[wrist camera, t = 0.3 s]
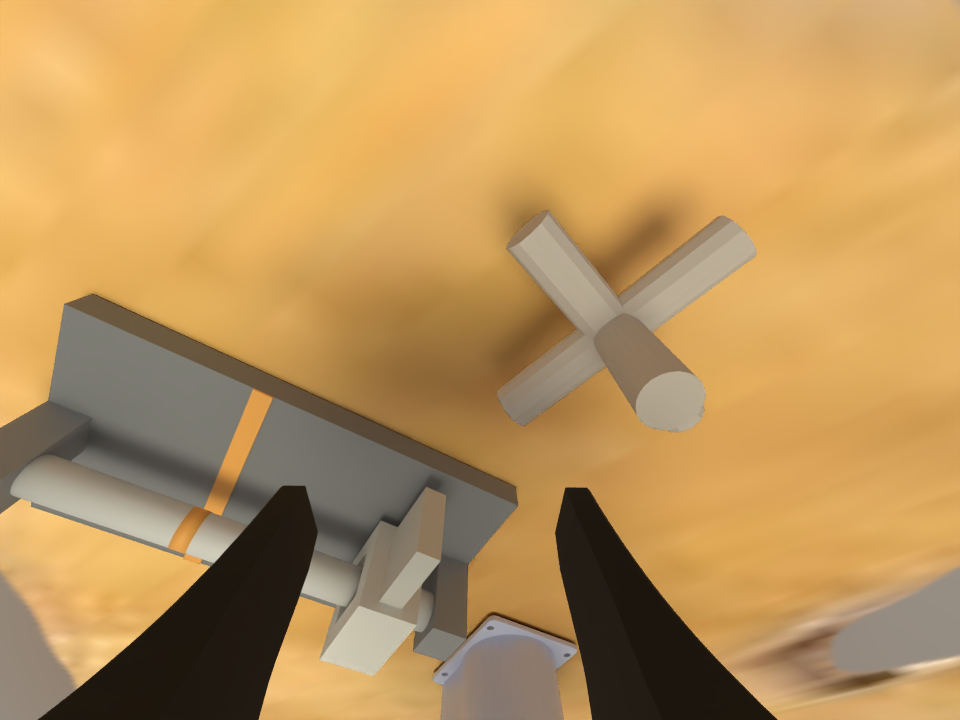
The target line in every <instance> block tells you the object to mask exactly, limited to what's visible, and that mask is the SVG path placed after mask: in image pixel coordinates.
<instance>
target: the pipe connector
mask: <svg viewBox="0 0 960 720" xmlns="http://www.w3.org/2000/svg"><path fill="white" fill-rule="evenodd" d="M506 249H507V250H508V251H509V252H510V253H511V254H512V256H513V257H514V258H515V259H516V260H517V261H518V262H519V264H520V265H521V266H522V267H523V268H524V269H525V270H526V272H527V273H528V274H529V275H530V276H531V277H532V278H533V280H534V281H535V282H536V283H537V284H538V285H539V286H540V288H541V289H542V290H543V291H544V292H545V293H546V294H547V296H548V297H549V298H550V299H551V300H552V301H553V302H554V304H555V305H556V306H557V307H558V308H559V309H560V310H561V312H562V313H563V314H564V315H565V316H566V317H567V318H568V320H569V321H570V322H571V323H572V324H573V325H574V326H575V328H576V329H574V330H573V331H572V332H571V333H569V334H568V335H567V336H565V337H564V338H563V339H562V340H560V341H559V342H558V343H557V344H555V345H554V346H553V347H551V348H550V349H549V350H548V351H546V352H545V353H544V354H543V355H541V356H540V357H539V358H537V359H536V360H535V361H534V362H532V363H531V364H530V365H529V366H527V367H526V368H525V369H523V370H522V371H521V372H520V373H518V374H517V375H516V376H515V377H513V378H512V379H511V380H509V381H508V382H507V383H506V384H504V385H503V386H502V387H501V388H499V389H498V391H497V393H496V394H497V397H498V400H499V402H500V404H501V405H502V407H503V409H504V410H505V412H506V413H507V414H508V415H509V416H510V417H511V418H512V420H513V421H515V422H516V423H518V424H519V425H520V426H525V425H526V424H528V423H529V422H531V421H532V420H533V419H535V418H536V417H537V416H539V415H540V414H541V413H543V412H544V411H546V410H547V409H548V408H550V407H551V406H552V405H554V404H555V403H556V402H558V401H559V400H561V399H562V398H563V397H565V396H566V395H567V394H569V393H570V392H571V391H573V390H574V389H576V388H577V387H578V386H580V385H581V384H582V383H584V382H585V381H586V380H588V379H589V378H590V377H592V376H593V375H595V374H596V373H597V372H599V371H600V370H601V369H603V368H604V367H605V366H607V368H608V370H609V371H610V373H611V374H612V376H613V378H614V379H615V381H616V382H617V384H618V386H619V387H620V389H621V390H622V392H623V394H624V395H625V397H626V398H627V400H628V402H629V403H630V405H631V406H632V408H633V410H634V411H635V413H636V414H637V416H638V417H639V419H640V421H641V422H642V423H644V424H645V425H646V426H648V427H650V428H653V429H658V430H668V431H669V432H683V431H686V430H688V429H691V428H693V427H694V426H695V425H696V424H697V423H698V422H699V421H700V420H701V419H702V416H703V413H704V410H705V409H704V407H703V404H704V401H705V396H706V394H705V388H704V386H703V384H702V382H701V381H700V380H699V379H698V378H697V377H696V376H695V375H694V374H693V373H692V372H691V371H690V370H689V369H688V368H687V367H686V366H685V365H684V364H683V363H682V362H681V361H680V360H679V359H678V358H677V357H676V356H675V355H674V354H673V353H672V352H671V351H670V350H669V349H668V348H667V347H666V346H665V345H664V344H663V343H662V342H661V341H660V340H659V339H658V338H657V337H656V336H655V335H654V334H653V333H652V332H653V331H655V330H656V329H657V328H659V327H660V326H661V325H663V324H664V323H665V322H667V321H668V320H670V319H671V318H672V317H674V316H675V315H676V314H678V313H679V312H680V311H682V310H683V309H685V308H686V307H687V306H689V305H690V304H691V303H693V302H694V301H695V300H697V299H698V298H700V297H701V296H702V295H704V294H705V293H706V292H708V291H709V290H710V289H712V288H713V287H715V286H716V285H717V284H719V283H720V282H721V281H723V280H724V279H725V278H727V277H728V276H730V275H731V274H732V273H734V272H735V271H736V270H738V269H739V268H740V267H742V266H743V265H744V264H746V263H747V262H749V261H750V260H751V259H753V258H754V257H755V256H756V252H757V251H756V248H755V246H754V243H753V241H752V240H751V239H750V237H749V236H748V235H747V233H746V232H745V231H744V230H743V229H742V228H741V227H740V226H739V225H738V224H736V223H735V222H734V221H733V220H731V219H729V218H727V217H725V216H719V217H717V218H716V219H714V220H713V221H712V222H710V223H709V224H708V225H707V226H705V227H704V228H703V229H702V230H700V231H699V232H698V233H696V234H695V235H694V236H693V237H691V238H690V239H689V240H688V241H686V242H685V243H684V244H682V245H681V246H680V247H679V248H677V249H676V250H675V251H674V252H672V253H671V254H670V255H668V256H667V257H666V258H665V259H663V260H662V261H661V262H660V263H658V264H657V265H656V266H654V267H653V268H652V269H651V270H649V271H648V272H647V273H646V274H644V275H643V276H642V277H640V278H639V279H638V280H637V281H635V282H634V283H633V284H632V285H630V286H629V287H628V288H626V289H625V290H624V291H623V292H621V293H620V294H619V295H618V296H617V295H616V294H615V292H614V291H613V290H612V289H611V287H610V286H609V285H608V284H607V282H606V281H605V280H604V279H603V277H602V276H601V275H600V274H599V272H598V271H597V270H596V269H595V267H594V266H593V265H592V264H591V262H590V261H589V260H588V259H587V257H586V256H585V255H584V254H583V252H582V251H581V250H580V249H579V247H578V246H577V245H576V244H575V242H574V241H573V240H572V238H571V237H570V236H569V235H568V233H567V232H566V231H565V230H564V228H563V227H562V226H561V225H560V223H559V222H558V221H557V220H556V218H555V217H554V216H553V215H552V213H551V212H550V211H549V210H545V211H542V212H541V213H539V214H538V215H536V216H535V217H533V218H532V219H531V220H530V221H529V222H527V223H526V224H525V225H524V226H523V227H522V228H521V229H520V230H519V231H518V232H517V233H516V234H515V235H514V236H513V237H512V239H511V240H510V241H509V243H508V245H507V247H506Z"/></svg>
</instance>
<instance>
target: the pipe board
mask: <svg viewBox="0 0 960 720" xmlns="http://www.w3.org/2000/svg"><path fill="white" fill-rule="evenodd" d="M283 485H285V486H306V490H307V493H308V497H309V501H310V504H311V508H312V512H313V515H314V519H315V523H316V526H317V530H318V535H317V539H316V543H315V547H314V552H313V556H312V560H311V563H310V567H309V571H308V574H307V577H306V580H305V582H304V585H303V588H302V591H301V593H300V596H301V597H304V598H307V599H310V600H313V601H316V602H319V603H322V604H325V605H328V606H331V607H334V608H335V607H336V604H337V605H340V606H343V607H346V608H347V607H348V606H349V604H350V603H351V601H352V600H353V599H354V597H355V596H356V592H357V588H358V585H359V581H360V577H361V574H362V570H363V567H360V566H358V565H355V564H352V563H353V561H354V560H355V558H356V557H357V555H358V554H359V552H360V551H361V549H362V548H363V546H364V545H365V543H366V542H367V540H368V539H369V537H370V536H371V534H372V533H373V531H374V530H375V528H376V527H377V526H378V524H379V523H380V521H383V522H386V523H388V524H391V525H393V526H396V527H398V526H399V525H400V523H401V522H402V521H403V519H404V518H405V516H406V515H407V514H408V512H409V511H410V509H411V508H412V506H413V505H414V504H415V502H416V501H417V499H418V498H419V497H420V495H421V494H422V492H423V491H424V489H425V488H426V487H428V488H430V489H433V490H435V491H437V492H440V493H442V494H444V495H446V504H445V516H444V528H443V540H442V552H441V561H440V562H439V564H438V565H437V566H436V567H435V568H434V570H433V571H432V572H431V573H430V575H429V576H428V577H427V578H426V580H425V581H424V582H423V583H422V587H421V595H420V603H419V612H418V620H417V626H416V627H415V628H414V629H413V630H414V631H415V638H414V646H413V651H414V652H417V653H420V654H423V655H426V656H429V657H432V658H435V659H438V660H442V661H446V660H447V659H448V658H449V657H450V656H451V655H452V654H453V653H454V652H455V651H456V650H457V649H458V648H459V647H460V646H461V645H462V644H463V642H464V641H465V640H466V639H467V588H468V564H469V563H470V561H471V560H472V559H473V558H474V557H475V556H476V554H477V553H478V552H479V551H480V550H481V549H482V547H483V546H484V545H485V544H486V543H487V542H488V540H489V539H490V538H491V537H492V536H493V535H494V533H495V532H496V531H497V530H498V529H499V528H500V526H501V525H502V524H503V523H504V522H505V520H506V519H507V518H508V517H509V516H510V515H511V513H512V512H513V511H514V510H515V509H516V508H517V506H518V501H517V493H516V487H514V486H512V485H510V484H508V483H506V482H503V481H501V480H499V479H497V478H495V477H492V476H490V475H488V474H486V473H484V472H481V471H479V470H477V469H475V468H473V467H471V466H468V465H466V464H464V463H462V462H460V461H457V460H455V459H453V458H451V457H449V456H446V455H444V454H442V453H440V452H438V451H435V450H433V449H431V448H429V447H427V446H424V445H422V444H420V443H418V442H416V441H414V440H411V439H409V438H407V437H405V436H403V435H400V434H398V433H396V432H394V431H392V430H389V429H387V428H385V427H383V426H381V425H378V424H376V423H374V422H372V421H370V420H368V419H365V418H363V417H361V416H359V415H357V414H354V413H352V412H350V411H348V410H346V409H343V408H341V407H339V406H337V405H335V404H332V403H330V402H328V401H326V400H324V399H322V398H319V397H317V396H315V395H313V394H311V393H308V392H306V391H304V390H302V389H300V388H297V387H295V386H293V385H291V384H289V383H286V382H284V381H282V380H280V379H278V378H276V377H273V376H271V375H269V374H267V373H265V372H262V371H260V370H258V369H256V368H254V367H251V366H249V365H247V364H245V363H243V362H240V361H238V360H236V359H234V358H232V357H229V356H227V355H225V354H223V353H221V352H219V351H216V350H214V349H212V348H210V347H208V346H205V345H203V344H201V343H199V342H197V341H194V340H192V339H190V338H188V337H186V336H183V335H181V334H179V333H177V332H175V331H173V330H170V329H168V328H166V327H164V326H162V325H159V324H157V323H155V322H153V321H151V320H148V319H146V318H144V317H142V316H140V315H137V314H135V313H133V312H131V311H129V310H127V309H124V308H122V307H120V306H118V305H116V304H113V303H111V302H109V301H107V300H105V299H102V298H100V297H98V296H96V295H94V294H91V295H88V296H85V297H82V298H80V299H77V300H74V301H71V302H68V303H66V304H64V308H63V314H62V321H61V327H60V333H59V339H58V345H57V351H56V357H55V363H54V369H53V375H52V381H51V387H50V393H49V400H48V401H47V402H45V403H43V404H41V405H40V406H38V407H36V408H34V409H33V410H31V411H29V412H27V413H26V414H24V415H22V416H20V417H19V418H17V419H15V420H13V421H12V422H10V423H8V424H6V425H5V426H3V427H1V428H0V514H1V513H2V512H3V511H5V510H6V509H7V508H9V507H10V506H11V505H13V504H14V503H15V502H17V501H18V500H19V499H24V500H27V501H30V502H32V503H31V507H34V508H37V509H40V510H43V511H46V512H49V513H52V514H55V515H58V516H61V517H64V518H67V519H70V520H73V521H76V522H79V523H82V524H85V525H88V526H91V527H94V528H97V529H100V530H103V531H106V532H109V533H112V534H115V535H118V536H121V537H124V538H127V539H130V540H133V541H136V542H139V543H142V544H145V545H148V546H151V547H154V548H157V549H160V550H163V551H166V552H169V553H172V554H175V555H178V556H181V557H184V558H183V559H185V560H188V561H191V562H194V563H197V564H200V563H202V564H205V565H208V566H212V565H213V563H214V562H215V561H216V560H217V559H218V558H219V557H220V556H221V555H222V554H223V553H224V551H225V550H226V549H227V548H228V547H229V546H230V545H231V544H232V543H233V542H234V540H235V539H236V538H237V537H238V536H239V535H240V534H241V533H242V532H243V530H244V529H245V528H246V527H247V526H248V525H249V524H250V522H251V521H252V520H253V519H254V518H255V517H256V515H257V514H258V513H259V512H260V511H261V510H262V508H263V507H264V506H265V505H266V504H267V502H268V501H269V500H270V499H271V498H272V497H273V495H274V494H275V493H276V492H277V491H278V490H279V488H280V487H282V486H283Z"/></svg>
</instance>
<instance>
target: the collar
mask: <svg viewBox="0 0 960 720" xmlns="http://www.w3.org/2000/svg"><path fill="white" fill-rule="evenodd" d="M445 504H446V495H444V494H442V493H440V492H437V491H435V490H433V489H430V488H428V487H426V488H425V489H424V491H423V492H422V494H421V495H420V497H419V498H418V499H417V501H416V502H415V504H414V505H413V506H412V508H411V509H410V511H409V512H408V514H407V515H406V516H405V518H404V519H403V521H402V522H401V523H400V525H399V526H398V527H396V526H393V525H391V524H388V523H386V522H383V521H380V523H379V524H378V526H377V527H376V528H375V530H374V531H373V533H372V534H371V536H370V537H369V539H368V540H367V542H366V543H365V545H364V546H363V548H362V549H361V551H360V552H359V554H358V555H357V557H356V558H355V560H354V561H353V563H352V564H355V565H358V566H360V567H363V570H362V574H361V577H360V581H359V585H358V588H357V592H356V596H355V597H354V599H353V600H352V601H351V603H350V604H349V606H348V607H347V608H346V607H343V606H340V605H337V604H336V607H335V611H334V614H333V617H332V620H331V624H330V627H329V630H328V633H327V637H326V640H325V643H324V646H323V650H322V653H321V656H320V659H319V660H322V661H325V662H328V663H332V664H335V665H338V666H342V667H345V668H348V669H352V670H355V671H358V672H362V673H365V674H369V675H372V676H374V675H375V674H376V673H377V671H378V670H379V669H380V668H381V667H382V666H383V664H384V663H385V662H386V661H387V660H388V659H389V657H390V656H391V655H392V654H393V653H394V651H395V650H396V649H397V648H398V647H399V646H400V644H401V643H402V642H403V641H404V640H405V639H406V637H407V636H408V635H409V634H410V633H411V632H412V630H413V629H414V628H415V627H416V626H417V620H418V612H419V603H420V595H421V587H422V583H423V582H424V581H425V580H426V578H427V577H428V576H429V575H430V573H431V572H432V571H433V570H434V568H435V567H436V566H437V565H438V564H439V562H440V561H441V552H442V540H443V528H444V516H445Z"/></svg>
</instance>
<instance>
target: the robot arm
mask: <svg viewBox="0 0 960 720" xmlns="http://www.w3.org/2000/svg"><path fill="white" fill-rule="evenodd" d="M317 535H318V530H317V526H316V523H315V519H314V515H313V512H312V508H311V504H310V501H309V497H308V493H307V490H306V486H285V485H283V486H282V487H280V488H279V490H278V491H277V492H276V493H275V494H274V495H273V497H272V498H271V499H270V500H269V501H268V502H267V504H266V505H265V506H264V507H263V508H262V510H261V511H260V512H259V513H258V514H257V515H256V517H255V518H254V519H253V520H252V521H251V522H250V524H249V525H248V526H247V527H246V528H245V529H244V530H243V532H242V533H241V534H240V535H239V536H238V537H237V538H236V539H235V540H234V542H233V543H232V544H231V545H230V546H229V547H228V548H227V549H226V550H225V551H224V553H223V554H222V555H221V556H220V557H219V558H218V559H217V560H216V561H215V562H214V563H213V565H212V566H211V567H210V568H209V569H208V570H207V571H206V572H205V573H204V574H203V575H202V576H201V577H200V578H199V579H198V580H197V581H196V582H195V583H194V584H193V585H192V586H191V587H190V588H189V589H188V590H187V591H186V592H185V593H184V594H183V595H182V596H181V597H180V598H179V599H178V600H177V601H176V602H175V603H174V604H173V605H172V606H171V607H170V608H169V609H168V610H167V611H166V612H165V613H164V614H163V615H162V616H161V617H159V618H158V619H157V620H156V621H155V622H154V623H153V624H152V625H151V626H150V627H149V628H148V629H146V630H145V631H144V632H143V633H142V634H141V635H140V636H139V637H138V638H137V639H135V640H134V641H133V642H132V643H131V644H130V645H129V646H127V647H126V648H125V649H124V650H123V651H122V652H120V653H119V654H118V655H117V656H116V657H115V658H114V659H112V660H111V661H110V662H109V663H108V664H107V665H105V666H104V667H103V668H102V669H101V670H100V671H98V672H97V673H96V674H95V675H94V676H92V677H91V678H90V679H89V680H88V681H86V682H85V683H84V684H83V685H81V686H80V687H79V688H78V689H77V690H75V691H74V692H73V693H72V694H70V695H69V696H68V697H67V698H65V699H64V700H63V701H61V702H60V703H59V704H58V705H56V706H55V707H54V708H52V709H51V710H50V711H48V712H47V713H46V714H45V715H43V716H42V717H41V718H39V719H38V720H258V719H259V715H260V712H261V708H262V705H263V701H264V697H265V694H266V690H267V686H268V683H269V680H270V677H271V674H272V671H273V668H274V664H275V661H276V659H277V656H278V653H279V651H280V648H281V645H282V642H283V640H284V637H285V634H286V632H287V629H288V626H289V623H290V621H291V618H292V615H293V613H294V610H295V607H296V604H297V602H298V599H299V596H300V593H301V591H302V588H303V585H304V582H305V580H306V577H307V574H308V571H309V567H310V563H311V560H312V556H313V552H314V547H315V543H316V539H317ZM555 535H556V542H557V550H558V558H559V565H560V571H561V575H562V580H563V584H564V588H565V592H566V596H567V600H568V604H569V609H570V613H571V617H572V621H573V625H574V629H575V633H576V637H577V641H578V645H579V649H580V653H581V658H582V662H583V667H584V672H585V677H586V683H587V689H588V695H589V701H590V708H591V714H592V720H777V719H776V718H775V717H774V716H773V715H772V714H771V713H770V712H769V711H768V710H767V709H766V708H765V707H764V706H763V705H762V704H761V703H760V702H759V701H758V700H757V699H756V698H755V697H754V696H753V695H752V694H751V693H750V692H749V691H748V690H747V689H746V688H745V687H744V686H743V685H742V684H741V683H740V682H739V681H738V680H737V679H736V678H735V677H734V676H733V675H732V674H731V673H730V672H729V671H728V670H727V669H726V668H725V667H724V666H723V665H722V664H721V663H720V662H719V661H718V660H717V659H716V658H715V657H714V656H713V654H712V653H711V652H710V651H709V650H708V649H707V648H706V647H705V646H704V645H703V643H702V642H701V641H700V640H699V639H698V638H697V637H696V636H695V635H694V633H693V632H692V631H691V630H690V629H689V628H688V627H687V625H686V624H685V623H684V622H683V621H682V620H681V618H680V617H679V616H678V615H677V614H676V612H675V611H674V610H673V609H672V608H671V606H670V605H669V604H668V603H667V601H666V600H665V599H664V598H663V596H662V595H661V594H660V593H659V591H658V590H657V589H656V587H655V586H654V585H653V584H652V582H651V581H650V580H649V578H648V577H647V576H646V574H645V573H644V572H643V570H642V569H641V568H640V566H639V565H638V563H637V562H636V561H635V559H634V558H633V556H632V555H631V554H630V552H629V551H628V549H627V548H626V547H625V545H624V544H623V542H622V541H621V539H620V538H619V536H618V535H617V533H616V532H615V530H614V529H613V527H612V526H611V524H610V523H609V521H608V519H607V518H606V516H605V515H604V513H603V512H602V510H601V508H600V507H599V505H598V503H597V502H596V500H595V498H594V497H593V495H592V493H591V492H590V490H589V489H588V488H565V492H564V496H563V501H562V505H561V509H560V514H559V518H558V523H557V527H556V532H555ZM576 652H577V648H576V645H575V644H573V643H570V642H567V641H565V640H562V639H559V638H556V637H554V636H551V635H548V634H545V633H543V632H540V631H537V630H534V629H532V628H529V627H526V626H523V625H521V624H518V623H515V622H512V621H510V620H507V619H504V618H501V617H499V616H495V615H492V616H490V617H488V618H487V619H486V620H485V621H484V622H483V623H482V624H481V626H480V627H479V628H478V629H477V630H476V631H475V632H474V633H473V634H472V635H471V636H470V637H469V638H468V639H467V640H466V641H465V642H464V643H463V644H462V645H461V646H460V647H459V648H458V649H457V650H456V651H455V653H454V654H453V655H452V656H451V657H450V658H449V659H448V660H447V661H446V662H445V663H444V664H443V665H442V666H441V667H440V668H439V669H438V670H437V671H436V672H435V673H434V675H433V681H434V682H435V683H438V684H441V685H443V688H442V704H441V720H564V717H563V711H562V705H561V698H560V692H559V686H558V680H557V673H556V670H557V669H558V668H559V667H560V666H562V665H563V664H564V663H565V662H566V661H568V660H569V659H570V658H571V657H572V656H573V655H575V654H576Z"/></svg>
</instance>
